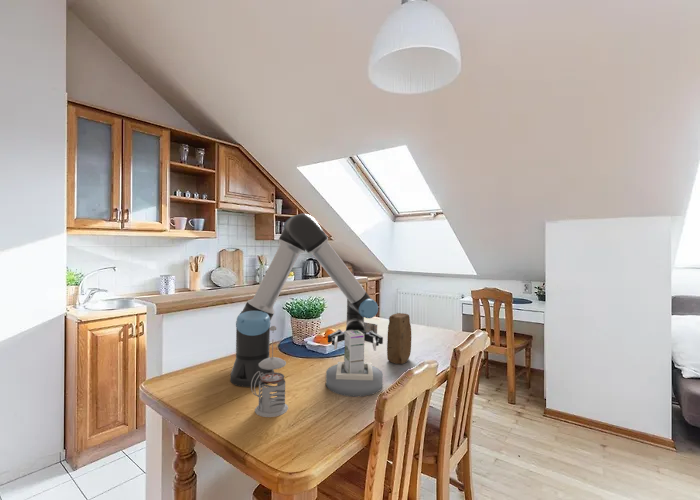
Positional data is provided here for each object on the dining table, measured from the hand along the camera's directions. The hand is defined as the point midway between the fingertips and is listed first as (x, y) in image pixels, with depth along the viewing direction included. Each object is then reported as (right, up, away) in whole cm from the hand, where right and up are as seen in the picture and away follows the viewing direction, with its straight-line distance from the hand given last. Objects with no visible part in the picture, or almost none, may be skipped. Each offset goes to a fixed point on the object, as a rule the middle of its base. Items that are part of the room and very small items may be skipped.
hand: (355, 346), depth 119 cm
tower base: (0, -14, +4) cm, 15 cm away
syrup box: (0, -11, +4) cm, 11 cm away
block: (+19, -14, +28) cm, 37 cm away
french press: (-26, -15, -16) cm, 34 cm away
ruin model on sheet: (+7, -13, +63) cm, 65 cm away
